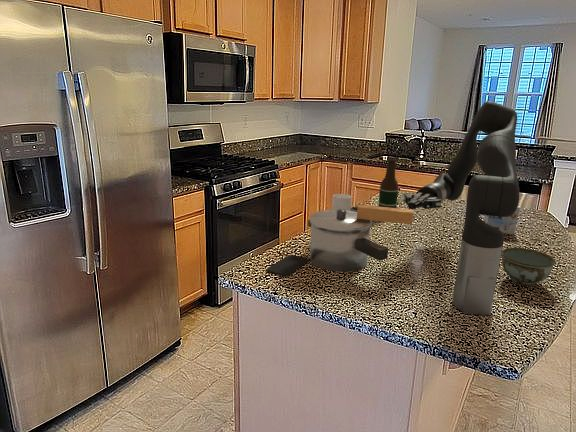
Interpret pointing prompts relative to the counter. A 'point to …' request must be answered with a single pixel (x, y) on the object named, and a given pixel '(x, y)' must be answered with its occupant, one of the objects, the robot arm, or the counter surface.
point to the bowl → (526, 265)
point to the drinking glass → (341, 202)
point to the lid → (358, 218)
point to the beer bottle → (389, 187)
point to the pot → (343, 250)
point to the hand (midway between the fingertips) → (411, 206)
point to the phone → (287, 265)
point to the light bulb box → (503, 222)
